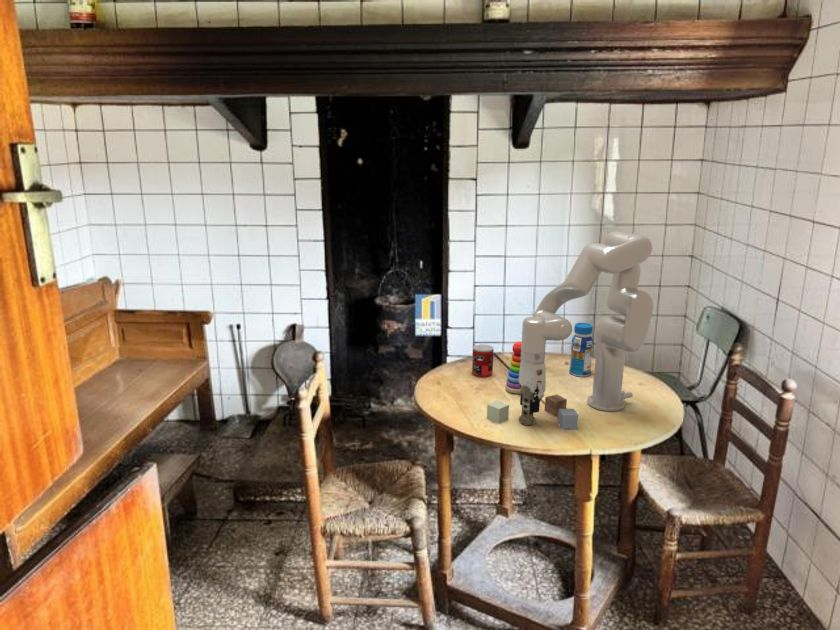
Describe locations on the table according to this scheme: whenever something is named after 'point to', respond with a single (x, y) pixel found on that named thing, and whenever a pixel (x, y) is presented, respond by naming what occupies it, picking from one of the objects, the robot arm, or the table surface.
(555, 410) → the walnut cube
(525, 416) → the grenade model
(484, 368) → the canned food
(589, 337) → the beverage bottle
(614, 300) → the robot arm
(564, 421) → the slate blue cube
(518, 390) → the stacking toy
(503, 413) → the sage cube
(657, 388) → the table surface
